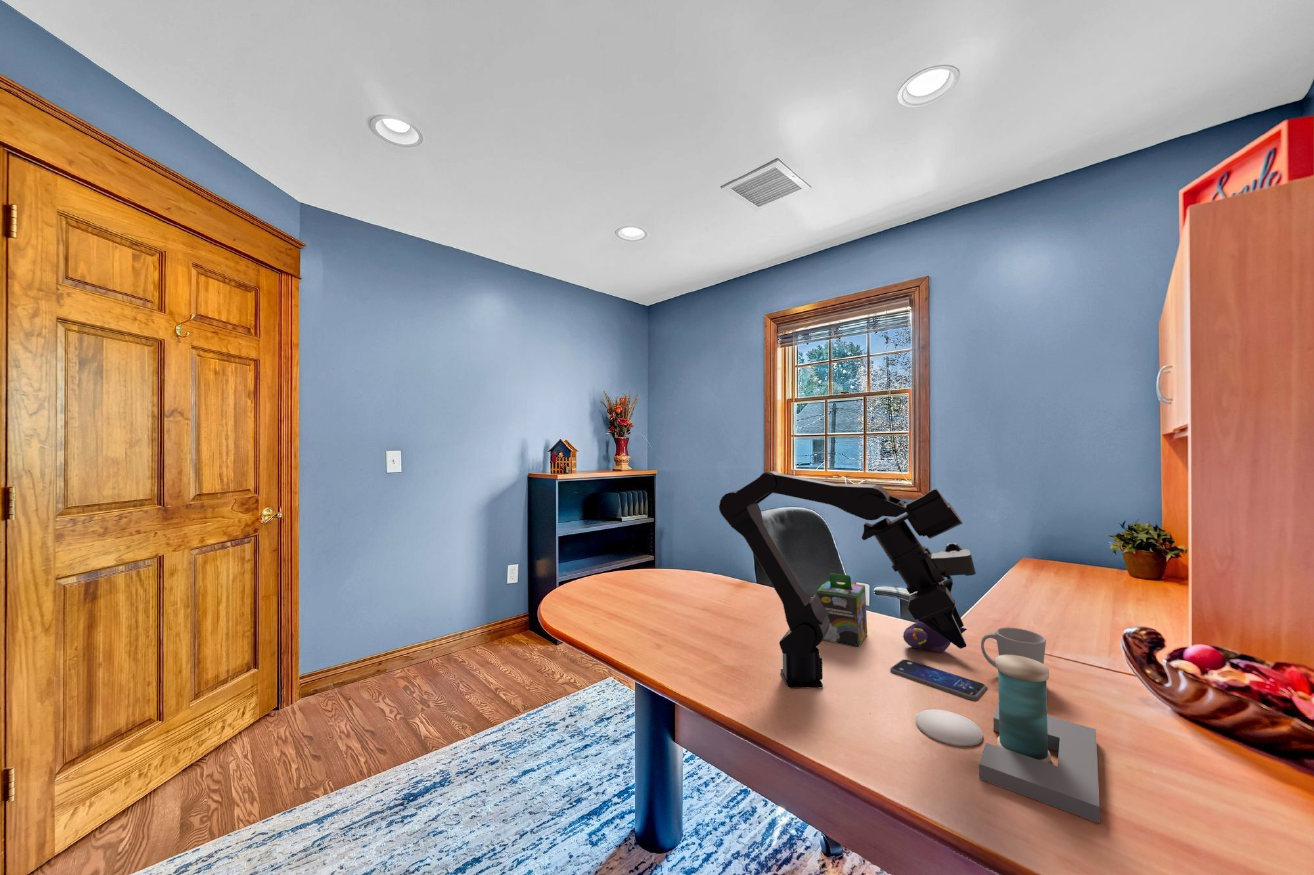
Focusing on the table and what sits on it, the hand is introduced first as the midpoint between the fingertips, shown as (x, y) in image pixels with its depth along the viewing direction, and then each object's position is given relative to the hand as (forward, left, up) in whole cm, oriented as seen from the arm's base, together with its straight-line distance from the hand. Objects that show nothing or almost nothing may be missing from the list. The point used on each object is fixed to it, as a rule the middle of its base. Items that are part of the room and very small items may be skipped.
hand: (962, 636), depth 80 cm
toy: (+9, +25, -13) cm, 30 cm away
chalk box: (-8, +33, -13) cm, 36 cm away
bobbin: (+3, -9, -13) cm, 16 cm away
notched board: (+4, -10, -13) cm, 18 cm away
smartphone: (+3, +13, -14) cm, 19 cm away
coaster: (-4, -3, -13) cm, 14 cm away
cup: (+17, +13, -13) cm, 25 cm away
